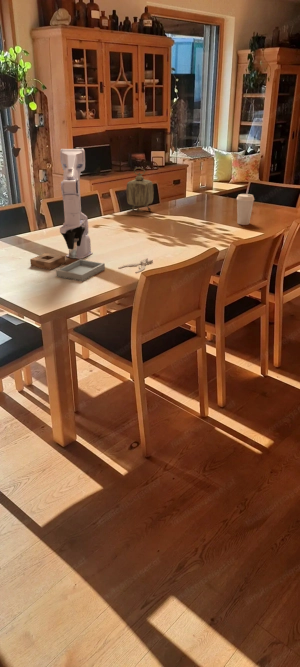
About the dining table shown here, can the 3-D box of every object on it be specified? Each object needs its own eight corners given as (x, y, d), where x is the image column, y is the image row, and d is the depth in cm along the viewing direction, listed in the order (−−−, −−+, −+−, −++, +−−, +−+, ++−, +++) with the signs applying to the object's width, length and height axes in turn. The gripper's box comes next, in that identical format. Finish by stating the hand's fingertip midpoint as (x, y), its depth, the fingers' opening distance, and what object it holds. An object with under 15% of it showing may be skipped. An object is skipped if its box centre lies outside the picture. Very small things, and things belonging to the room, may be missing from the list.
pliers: (117, 265, 203) (140, 256, 214) (117, 269, 204) (140, 260, 214) (136, 270, 198) (159, 261, 208) (136, 274, 198) (159, 264, 209)
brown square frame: (46, 259, 213) (45, 252, 212) (65, 263, 209) (64, 256, 208) (30, 266, 205) (30, 259, 204) (50, 270, 201) (49, 262, 200)
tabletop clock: (153, 210, 300) (153, 167, 289) (147, 213, 292) (147, 169, 281) (131, 208, 305) (131, 165, 294) (125, 211, 298) (124, 167, 287)
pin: (71, 253, 200) (71, 235, 196) (80, 256, 198) (81, 237, 195) (64, 256, 196) (65, 237, 193) (74, 259, 195) (74, 240, 191)
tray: (80, 264, 207) (80, 259, 206) (104, 269, 202) (104, 263, 201) (56, 276, 194) (56, 270, 193) (82, 281, 189) (81, 275, 188)
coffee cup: (248, 226, 266) (250, 197, 259) (231, 224, 270) (233, 195, 264) (254, 222, 273) (257, 194, 267) (238, 220, 278) (240, 192, 271)
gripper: (73, 207, 197) (75, 241, 203) (51, 215, 185) (54, 250, 191) (88, 209, 194) (90, 243, 200) (67, 217, 182) (70, 253, 188)
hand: (74, 247), depth 195 cm, fingers closed on pin, 4 cm apart
